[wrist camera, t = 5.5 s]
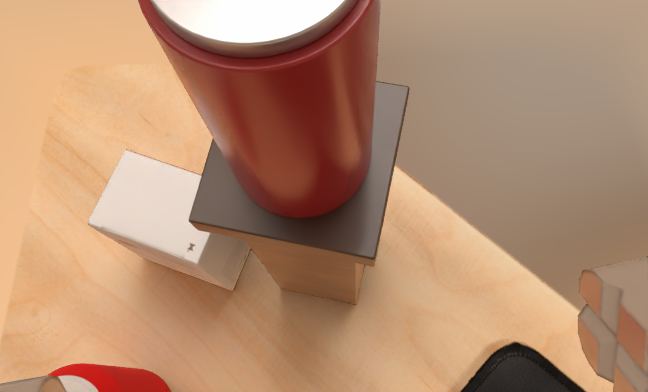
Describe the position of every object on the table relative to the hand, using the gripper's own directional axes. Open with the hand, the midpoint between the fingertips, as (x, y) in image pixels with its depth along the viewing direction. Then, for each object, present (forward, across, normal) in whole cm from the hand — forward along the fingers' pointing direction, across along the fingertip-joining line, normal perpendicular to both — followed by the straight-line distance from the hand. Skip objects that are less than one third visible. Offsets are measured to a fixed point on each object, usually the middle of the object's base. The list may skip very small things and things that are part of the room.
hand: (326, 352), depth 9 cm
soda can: (+17, 0, +3) cm, 17 cm away
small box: (+35, +9, +17) cm, 40 cm away
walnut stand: (+32, 0, +19) cm, 37 cm away
